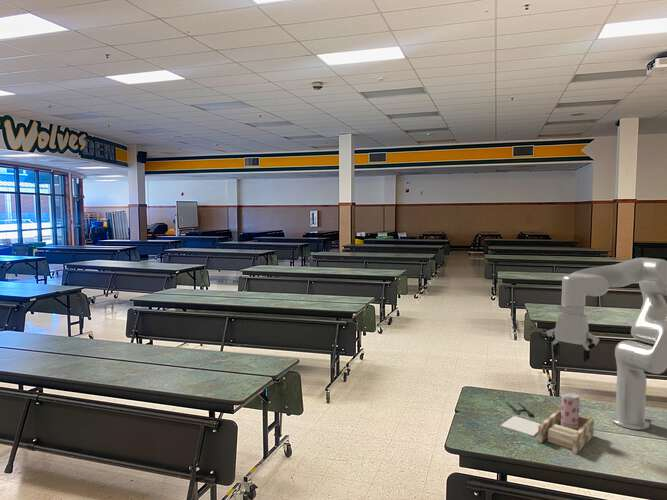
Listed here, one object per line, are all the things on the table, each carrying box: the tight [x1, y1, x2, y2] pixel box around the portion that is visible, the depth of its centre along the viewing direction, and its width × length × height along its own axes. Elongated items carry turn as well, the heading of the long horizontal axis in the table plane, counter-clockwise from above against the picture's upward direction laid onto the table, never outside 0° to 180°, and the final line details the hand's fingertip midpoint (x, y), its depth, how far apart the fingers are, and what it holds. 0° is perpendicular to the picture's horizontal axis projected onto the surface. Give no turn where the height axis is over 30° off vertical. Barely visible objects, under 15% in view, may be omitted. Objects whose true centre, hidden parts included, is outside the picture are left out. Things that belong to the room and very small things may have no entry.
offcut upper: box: [548, 424, 577, 444], centre depth 163 cm, size 6×8×2 cm
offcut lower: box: [547, 436, 573, 450], centre depth 164 cm, size 6×8×2 cm
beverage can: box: [560, 392, 580, 431], centre depth 168 cm, size 6×6×15 cm
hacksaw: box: [506, 401, 535, 418], centre depth 197 cm, size 24×10×2 cm, turn 0°
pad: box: [500, 415, 541, 438], centre depth 176 cm, size 12×12×1 cm
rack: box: [537, 409, 595, 455], centre depth 166 cm, size 19×12×6 cm, turn 136°
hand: (571, 357), depth 167 cm, fingers open, 9 cm apart
